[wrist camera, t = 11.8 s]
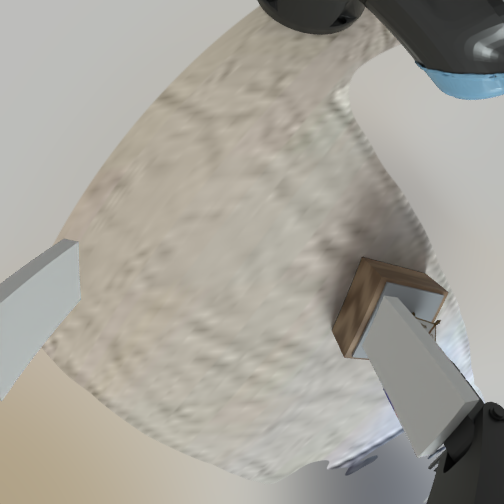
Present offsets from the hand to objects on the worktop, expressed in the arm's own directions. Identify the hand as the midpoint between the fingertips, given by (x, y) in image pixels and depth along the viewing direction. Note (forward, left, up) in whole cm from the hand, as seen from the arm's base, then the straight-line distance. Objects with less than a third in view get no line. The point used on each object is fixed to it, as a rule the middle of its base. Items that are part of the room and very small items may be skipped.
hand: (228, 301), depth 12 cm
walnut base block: (+11, +26, -28) cm, 40 cm away
